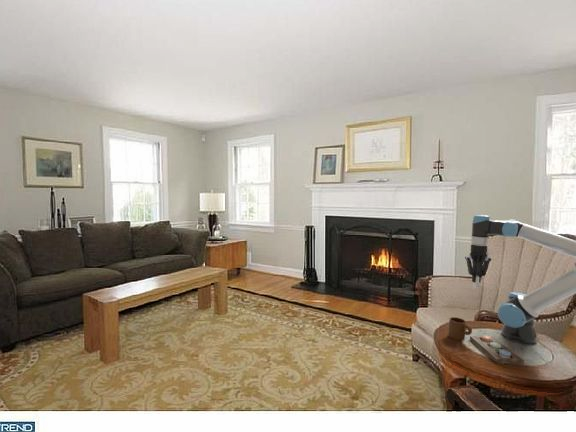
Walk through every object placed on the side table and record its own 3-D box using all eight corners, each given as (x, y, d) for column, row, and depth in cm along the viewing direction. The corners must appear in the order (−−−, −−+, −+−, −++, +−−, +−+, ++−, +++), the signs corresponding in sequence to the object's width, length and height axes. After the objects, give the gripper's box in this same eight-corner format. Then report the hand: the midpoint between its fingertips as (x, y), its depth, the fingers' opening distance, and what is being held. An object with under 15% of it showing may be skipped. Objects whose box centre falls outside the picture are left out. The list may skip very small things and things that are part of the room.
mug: (475, 343, 162) (477, 325, 161) (464, 346, 159) (466, 327, 158) (455, 333, 173) (456, 316, 172) (444, 335, 170) (446, 318, 169)
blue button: (506, 355, 150) (506, 349, 149) (512, 360, 145) (513, 354, 145) (496, 355, 150) (497, 349, 149) (502, 360, 145) (503, 354, 145)
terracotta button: (488, 341, 164) (488, 335, 163) (493, 345, 159) (494, 339, 159) (479, 340, 164) (479, 335, 163) (484, 345, 159) (484, 339, 159)
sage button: (496, 348, 157) (497, 342, 156) (502, 352, 152) (503, 346, 152) (487, 347, 157) (488, 341, 156) (493, 352, 152) (493, 346, 152)
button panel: (493, 340, 165) (493, 336, 165) (523, 364, 143) (524, 359, 143) (469, 339, 166) (470, 336, 165) (496, 363, 144) (496, 358, 144)
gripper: (487, 243, 174) (483, 286, 176) (463, 242, 174) (459, 285, 176) (496, 246, 166) (492, 290, 168) (470, 245, 166) (467, 290, 169)
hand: (475, 288), depth 172 cm, fingers closed
